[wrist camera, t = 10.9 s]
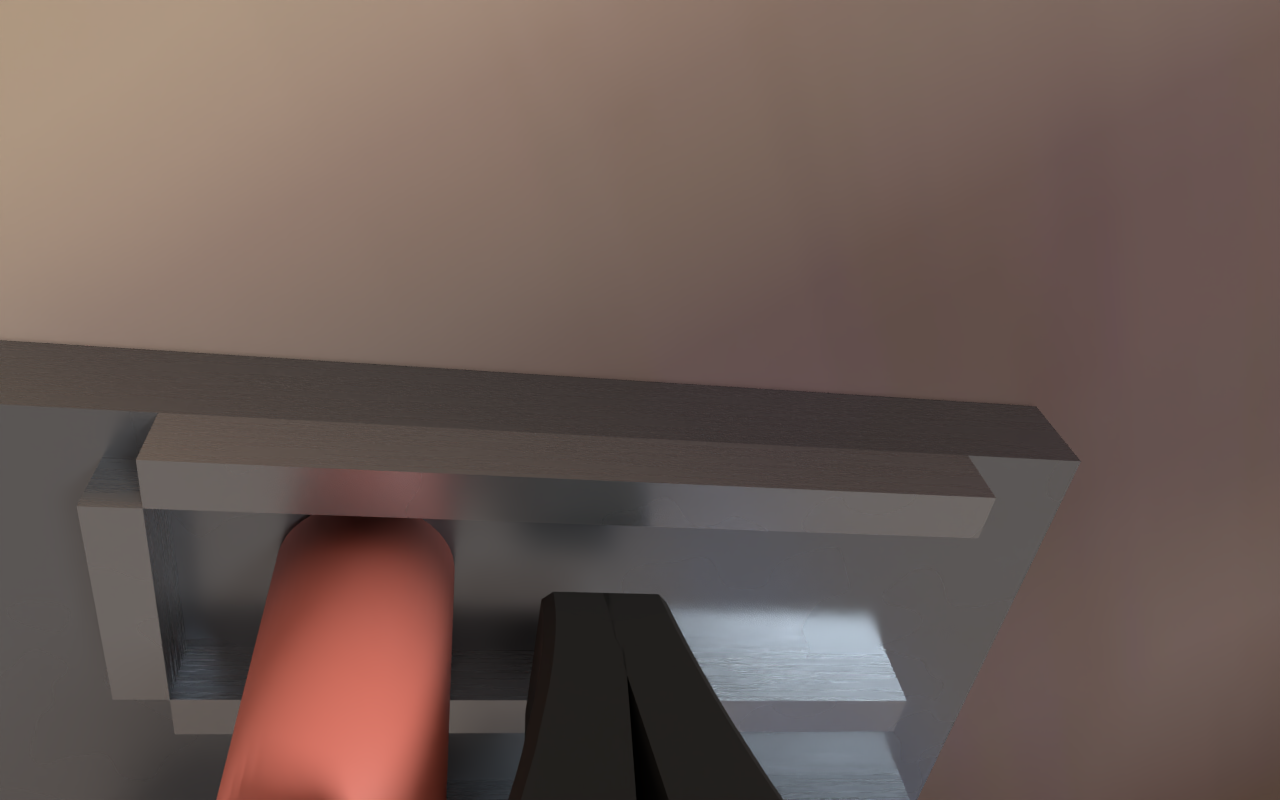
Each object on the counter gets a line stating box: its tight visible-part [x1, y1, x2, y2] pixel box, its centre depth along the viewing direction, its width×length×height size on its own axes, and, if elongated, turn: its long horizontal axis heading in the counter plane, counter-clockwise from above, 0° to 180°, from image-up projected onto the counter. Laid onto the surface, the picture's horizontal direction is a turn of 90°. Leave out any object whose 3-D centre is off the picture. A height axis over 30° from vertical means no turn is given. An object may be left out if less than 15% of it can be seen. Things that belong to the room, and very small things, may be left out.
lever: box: [216, 515, 455, 800], centre depth 9 cm, size 2×3×5 cm, turn 171°
